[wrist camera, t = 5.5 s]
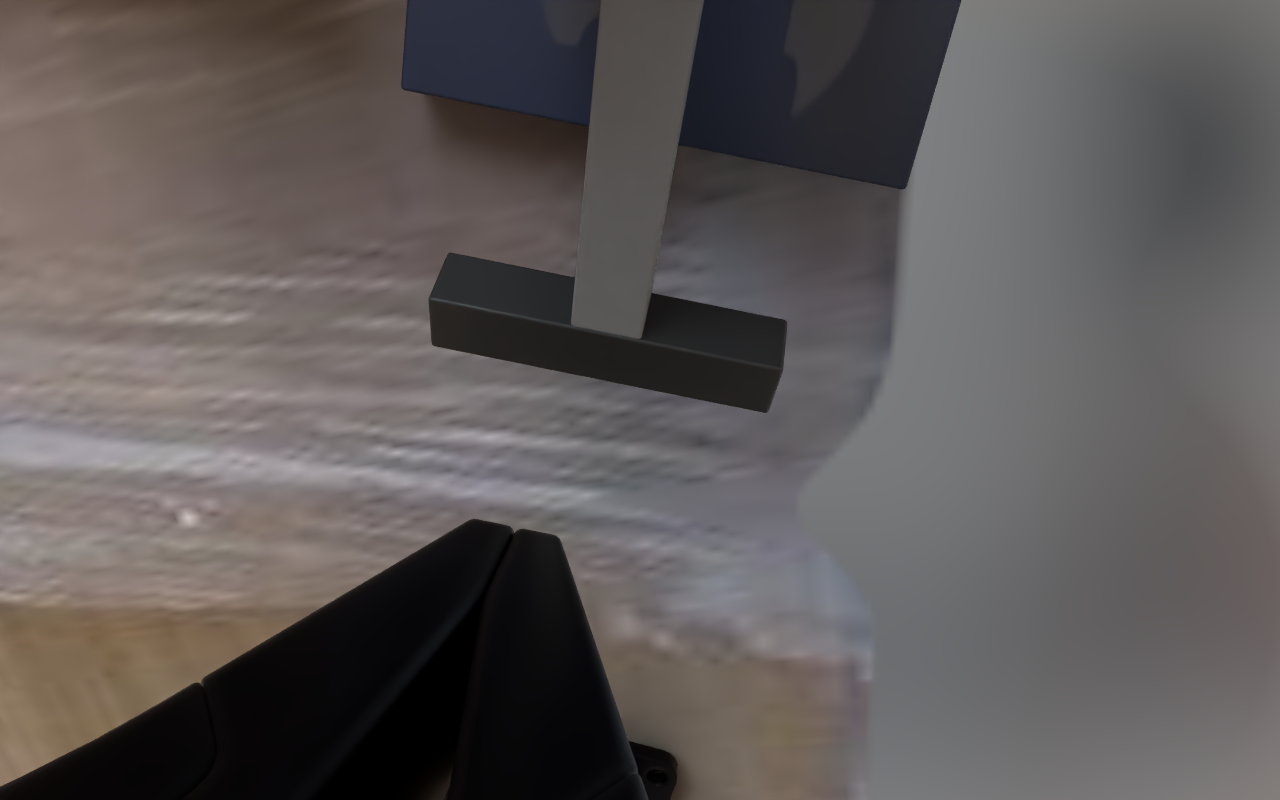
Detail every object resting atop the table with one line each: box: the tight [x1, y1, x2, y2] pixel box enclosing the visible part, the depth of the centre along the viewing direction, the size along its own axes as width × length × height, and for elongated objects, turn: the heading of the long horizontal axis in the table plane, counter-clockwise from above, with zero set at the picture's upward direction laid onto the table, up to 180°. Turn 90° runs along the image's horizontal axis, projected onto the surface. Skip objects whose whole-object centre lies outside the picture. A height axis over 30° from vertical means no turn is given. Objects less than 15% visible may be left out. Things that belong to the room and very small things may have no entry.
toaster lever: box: [429, 0, 787, 413], centre depth 12 cm, size 11×6×2 cm, turn 169°
